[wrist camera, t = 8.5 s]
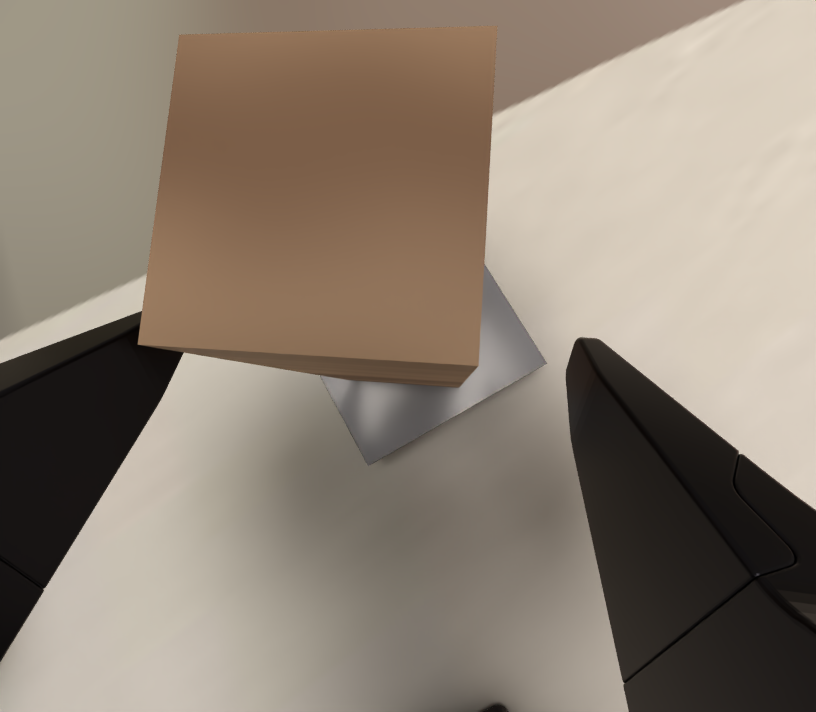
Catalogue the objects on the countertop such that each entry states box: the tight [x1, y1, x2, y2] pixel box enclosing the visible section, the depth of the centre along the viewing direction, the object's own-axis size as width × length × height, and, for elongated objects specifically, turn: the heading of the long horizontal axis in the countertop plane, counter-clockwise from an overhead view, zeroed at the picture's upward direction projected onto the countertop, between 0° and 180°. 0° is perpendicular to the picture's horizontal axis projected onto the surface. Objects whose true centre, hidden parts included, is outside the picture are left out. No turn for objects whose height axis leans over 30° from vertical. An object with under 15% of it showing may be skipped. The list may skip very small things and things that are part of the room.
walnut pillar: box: [138, 26, 497, 388], centre depth 12 cm, size 5×5×12 cm
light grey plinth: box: [320, 264, 547, 466], centre depth 20 cm, size 9×9×2 cm
